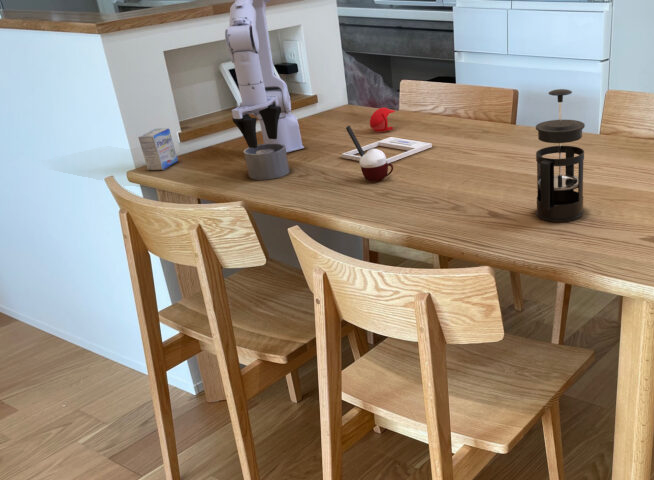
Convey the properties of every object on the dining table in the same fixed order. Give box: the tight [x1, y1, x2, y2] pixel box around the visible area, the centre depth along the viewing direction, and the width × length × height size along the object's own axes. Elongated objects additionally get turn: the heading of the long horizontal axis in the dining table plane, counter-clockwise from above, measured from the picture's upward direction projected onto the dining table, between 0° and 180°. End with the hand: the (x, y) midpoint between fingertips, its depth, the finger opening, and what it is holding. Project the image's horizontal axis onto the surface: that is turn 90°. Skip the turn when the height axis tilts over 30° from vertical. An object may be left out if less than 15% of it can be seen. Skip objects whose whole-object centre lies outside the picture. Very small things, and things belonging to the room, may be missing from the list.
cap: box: [369, 107, 395, 133], centre depth 212 cm, size 8×6×6 cm
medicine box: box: [137, 127, 179, 171], centre depth 194 cm, size 8×4×9 cm, turn 168°
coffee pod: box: [256, 149, 274, 154], centre depth 182 cm, size 4×4×5 cm
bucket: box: [243, 143, 291, 181], centre depth 182 cm, size 10×10×6 cm
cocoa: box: [345, 125, 394, 183], centre depth 171 cm, size 10×6×12 cm, turn 50°
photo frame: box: [341, 136, 433, 164], centre depth 193 cm, size 15×1×18 cm
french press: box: [535, 88, 586, 223], centre depth 141 cm, size 12×9×23 cm
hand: (263, 143), depth 180 cm, fingers open, 7 cm apart
